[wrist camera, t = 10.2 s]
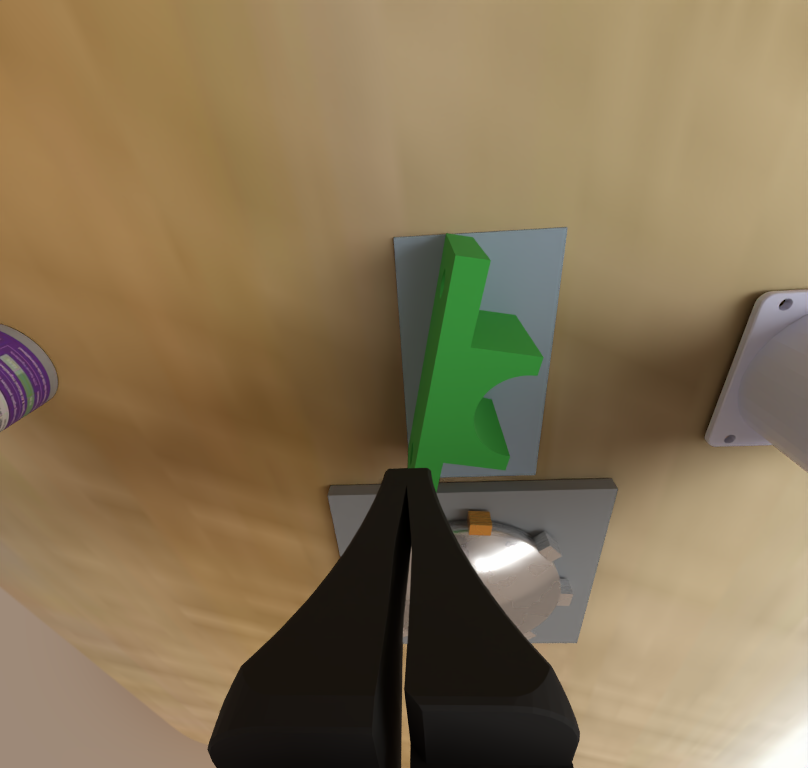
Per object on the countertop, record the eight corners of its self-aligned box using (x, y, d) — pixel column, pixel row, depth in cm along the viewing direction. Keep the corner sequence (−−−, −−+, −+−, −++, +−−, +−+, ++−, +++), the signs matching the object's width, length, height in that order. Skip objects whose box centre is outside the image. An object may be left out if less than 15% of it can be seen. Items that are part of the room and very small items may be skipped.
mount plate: (611, 478, 22) (618, 488, 22) (573, 631, 30) (576, 642, 29) (330, 485, 23) (327, 495, 22) (359, 632, 30) (358, 643, 30)
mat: (565, 226, 16) (567, 227, 16) (533, 471, 22) (535, 475, 22) (393, 236, 17) (393, 237, 16) (410, 474, 23) (410, 478, 23)
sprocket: (484, 476, 21) (499, 547, 17) (606, 586, 25) (641, 664, 21) (330, 575, 26) (314, 650, 22) (456, 655, 30) (462, 730, 26)
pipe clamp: (475, 455, 22) (488, 522, 18) (408, 447, 22) (405, 512, 18) (536, 244, 16) (574, 272, 12) (445, 231, 16) (454, 255, 12)
